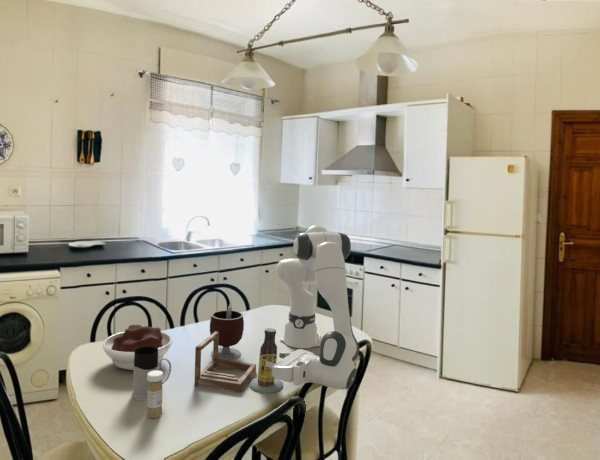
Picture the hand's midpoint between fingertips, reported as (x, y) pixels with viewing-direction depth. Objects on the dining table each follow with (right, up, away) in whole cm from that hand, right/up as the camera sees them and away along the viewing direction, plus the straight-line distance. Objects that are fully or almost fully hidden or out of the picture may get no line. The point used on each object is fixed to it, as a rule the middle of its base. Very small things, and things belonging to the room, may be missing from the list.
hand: (273, 358), depth 162 cm
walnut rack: (-18, -9, +6) cm, 21 cm away
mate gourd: (-22, -6, +30) cm, 37 cm away
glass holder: (-40, -10, -9) cm, 42 cm away
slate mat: (-3, -10, +2) cm, 11 cm away
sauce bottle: (-3, -10, +3) cm, 11 cm away
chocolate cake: (-53, -6, +15) cm, 56 cm away
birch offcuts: (-19, -10, +2) cm, 21 cm away
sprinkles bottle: (-35, -11, -21) cm, 43 cm away
